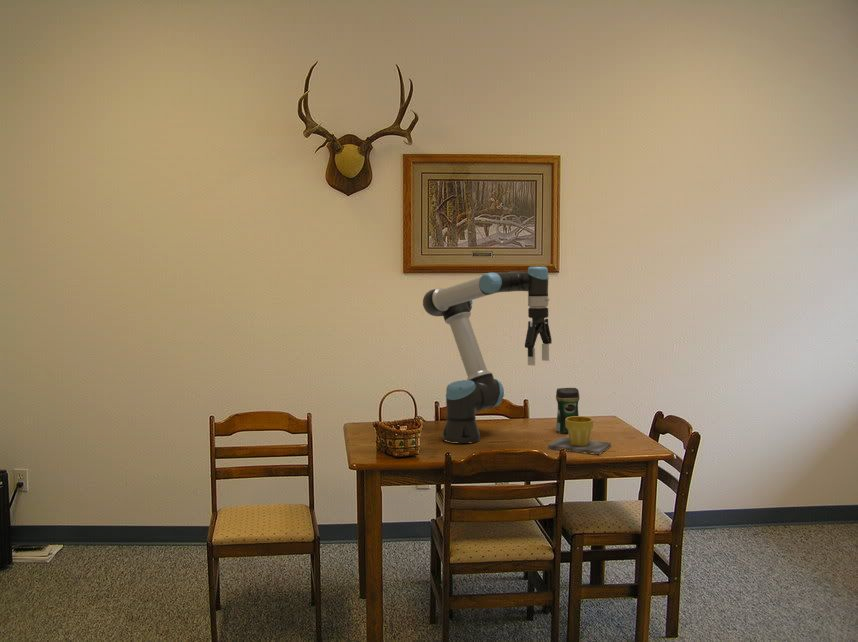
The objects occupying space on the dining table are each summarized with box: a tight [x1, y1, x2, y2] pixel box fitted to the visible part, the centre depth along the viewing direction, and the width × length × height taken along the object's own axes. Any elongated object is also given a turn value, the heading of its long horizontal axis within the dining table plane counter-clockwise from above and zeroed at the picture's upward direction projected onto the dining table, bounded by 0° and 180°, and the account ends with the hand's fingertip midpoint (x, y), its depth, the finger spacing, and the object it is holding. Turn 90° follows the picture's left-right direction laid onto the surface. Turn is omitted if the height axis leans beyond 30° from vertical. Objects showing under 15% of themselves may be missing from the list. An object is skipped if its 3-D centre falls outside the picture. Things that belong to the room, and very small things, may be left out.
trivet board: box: [547, 436, 612, 455], centre depth 275 cm, size 20×14×2 cm
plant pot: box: [565, 415, 594, 446], centre depth 274 cm, size 10×10×10 cm
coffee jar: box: [555, 387, 580, 434], centre depth 299 cm, size 10×8×19 cm
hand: (538, 362), depth 274 cm, fingers open, 13 cm apart
